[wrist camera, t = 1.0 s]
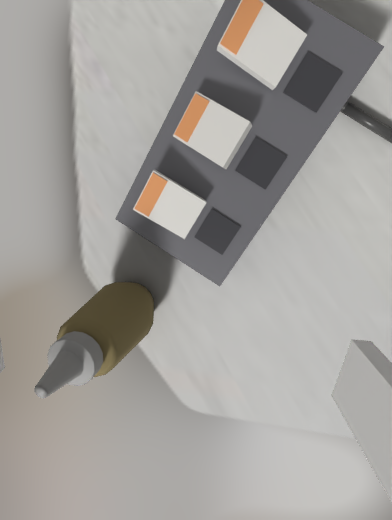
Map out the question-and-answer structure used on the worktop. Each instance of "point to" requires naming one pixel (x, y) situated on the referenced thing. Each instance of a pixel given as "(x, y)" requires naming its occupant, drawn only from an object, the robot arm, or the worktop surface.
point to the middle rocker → (212, 130)
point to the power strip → (254, 134)
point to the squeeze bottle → (98, 336)
